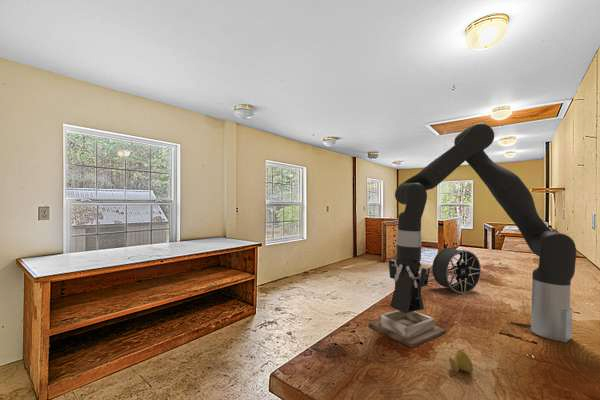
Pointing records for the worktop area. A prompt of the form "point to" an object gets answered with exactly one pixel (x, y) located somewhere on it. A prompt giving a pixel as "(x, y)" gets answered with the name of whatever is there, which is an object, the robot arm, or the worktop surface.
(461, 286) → the wheel rim
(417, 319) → the collar stand
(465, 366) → the knob
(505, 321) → the worktop surface
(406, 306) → the phone stand
